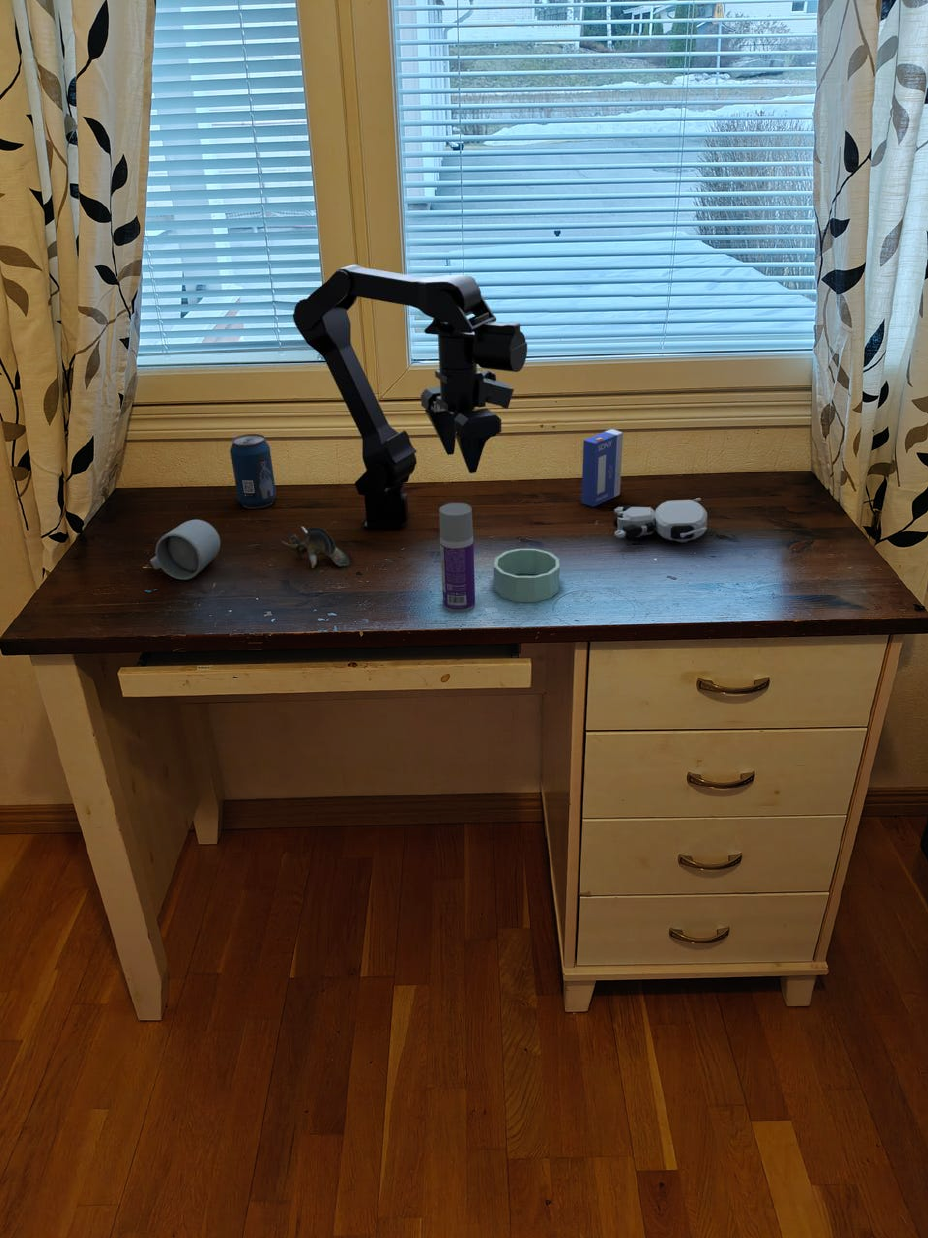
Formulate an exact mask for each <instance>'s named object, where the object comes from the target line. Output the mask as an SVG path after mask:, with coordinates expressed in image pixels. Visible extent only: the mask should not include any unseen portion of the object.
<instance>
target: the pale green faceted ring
mask: <svg viewBox="0 0 928 1238" xmlns="http://www.w3.org/2000/svg"><path fill="white" fill-rule="evenodd" d="M560 562H561V561H560V558H558V557H557V556H556V555H555V554H553V553H552V552H551V551H547V550H542V549H538V548H516V549H511V550H507V551H503V552H502V553H500V554H499V555H497V556H496V557H495V558H494V560H493V590H494V592H496V593H497V594H498V595H499V596H500V597H501V598H502V599H506V600H509V601H513V602H515V603H537V602H541V601H545V600H549V599H551V598H552V597H553V596H555V595H556V594H557V593H559V592H560ZM522 574H523V575H522ZM527 574H528V575H527Z"/></svg>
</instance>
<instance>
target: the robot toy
mask: <svg viewBox="0 0 928 1238" xmlns="http://www.w3.org/2000/svg"><path fill="white" fill-rule="evenodd" d="M701 500H702V498H700V497H698V498H695V499H683V500H682V499H680V500H679V499H677V500H667V501H665V502H662V503H660V504H659V505H658V507H656V509H655V510H654V509H653V508H652V507H651V506H649V507H647V506H633V505H624V506H617V507H616V508H615V509H614V510H613V511H614V514H616V516H615V517H614V518H613V520H612V523H613V524H612V525H613V526H614V527H615V528H616V529H617V530H615V531H614V533H613V535H614V537H615V538H617V539H625V540H629V539H636V538H640V537H642V536H648V535H649V536H651V535H652V534H653V533H655V531H656V532H657V533H658V534H659V535H660V536H661V537H662V538H663V539H666V540H669V541H675V542H677V543H688V542H689V541H690V540H696V539H697V538H700V537H702V535H704V533H705V532H706V531H707V530H708V527H707V526H708V512H707V510H706V509H705V508H704V507H703V506H702V505H701V504H700V503H698V502H700V501H701Z"/></svg>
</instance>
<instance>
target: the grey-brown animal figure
mask: <svg viewBox="0 0 928 1238" xmlns="http://www.w3.org/2000/svg"><path fill="white" fill-rule="evenodd" d="M300 528H301V531H303V533H304V536H305V539H304V540H301V541H300V538H299V537H298V536H297V535H296V534H294V533H293V534H292V535H291V536H290V537H289V539H288V540H289V543H288V542H285V541H283V540H282V541H281V543H282V545H283V546H284V547H286V548H289V549H291V550H292V551H293V552H294V553H295V554H296V556H297V557H296V558H297V559H301V558H302V556H303V555H304V554H305V553H307V555H308V558H309V560H310V563H311V569H314V568H315V566H316V565H317V556H318V555H320V554H321V555H325V556H326V557H328V558H329V559H330V560H331V561H333V563H335V565H336V566H337V567H347V566H349V565H351V564H350V562H351V560H350V558H349V557H348V555H347V554H346V553H345V552H344V551H342V550H341V549H340V548H338V547H336V545H335V541H334V539H333V538H332V536H331V534H330V533H329V532H328V531H327V530H325V529H324V528H320V527H312V526H311V527H310V528H309V529H308V530H307V529H306V528H305V527H304V526H301V525H300ZM302 547H303V548H302ZM300 548H302V549H300Z"/></svg>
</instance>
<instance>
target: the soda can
mask: <svg viewBox="0 0 928 1238" xmlns="http://www.w3.org/2000/svg"><path fill="white" fill-rule="evenodd" d="M229 452H230V459H231V460H230V461H231V466H232V472H233V478H234V479H233V480H234V485H235V490H236V492H235V493H236V498H237V500H238V501H239V503H240V504H241V505H242V507H244V508H246V509H262V508H266V507H269V506H271V505H272V504H273V503H274V500H275V499H276V496H277V490H276V489H277V488H276V482H275V477H274V467H273V462H272V461H273V460H272V455H271V454H272V453H271V447H270V444H269V443H268V442H267V441H266V437H265V435H262V434H257V433H248V434H242V435H237V436H235V437H233V438H232V439H231V447H230V451H229Z"/></svg>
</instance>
